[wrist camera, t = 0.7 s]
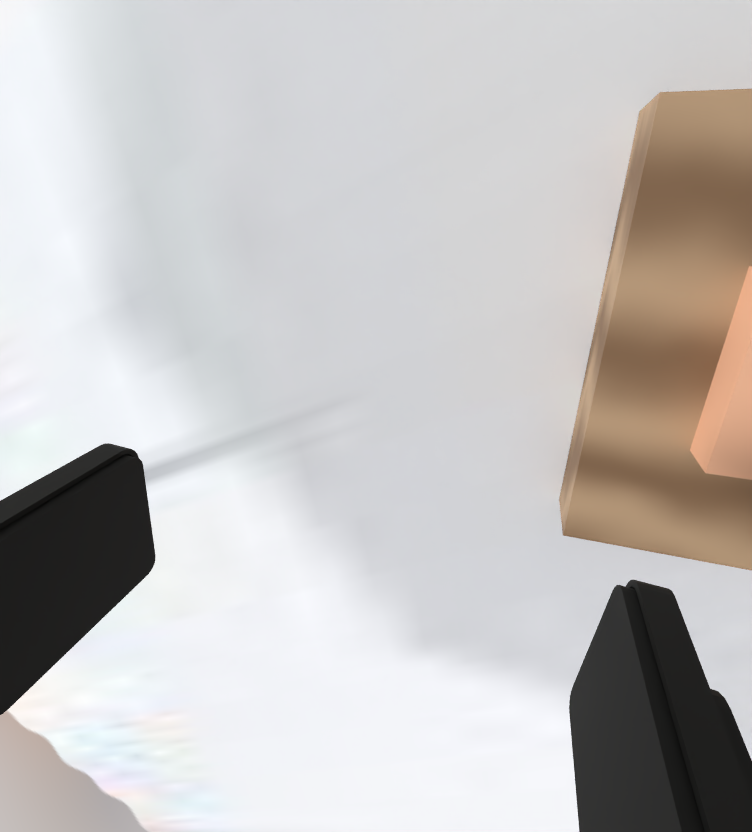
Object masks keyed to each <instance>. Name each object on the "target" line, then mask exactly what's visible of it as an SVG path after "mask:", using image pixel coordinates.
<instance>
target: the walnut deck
mask: <svg viewBox="0 0 752 832" xmlns="http://www.w3.org/2000/svg"><path fill="white" fill-rule="evenodd" d="M749 266H752V89H734V90H708V91H683V92H660V93H659V94H658V95H657V96H656V97H655V98H653V99H652V100H651V101H650V102H649V103H648V104H647V105H646V106H645V107H644V108H643V109H642V110H641V111H640V112H639V117H638V122H637V127H636V131H635V136H634V141H633V146H632V151H631V156H630V160H629V165H628V170H627V175H626V180H625V185H624V189H623V194H622V199H621V204H620V209H619V214H618V218H617V223H616V228H615V233H614V238H613V242H612V247H611V252H610V257H609V262H608V267H607V271H606V276H605V281H604V286H603V291H602V296H601V300H600V305H599V310H598V315H597V320H596V325H595V329H594V334H593V339H592V344H591V349H590V354H589V358H588V363H587V368H586V373H585V378H584V382H583V387H582V392H581V397H580V402H579V407H578V411H577V416H576V421H575V426H574V431H573V436H572V440H571V445H570V450H569V455H568V460H567V465H566V469H565V474H564V479H563V484H562V489H561V493H560V498H559V501H560V511H561V520H562V530H563V535H564V536H570V537H575V538H580V539H586V540H591V541H597V542H602V543H607V544H613V545H618V546H623V547H629V548H634V549H640V550H645V551H650V552H656V553H661V554H666V555H672V556H677V557H683V558H688V559H693V560H699V561H704V562H709V563H715V564H720V565H726V566H731V567H736V568H742V569H747V570H752V480H749V479H742V478H735V477H728V476H721V475H714V474H707V473H705V472H704V471H703V469H702V468H701V466H700V465H699V463H698V462H697V460H696V459H695V457H694V456H693V454H692V453H691V451H690V448H691V445H692V442H693V439H694V436H695V433H696V430H697V427H698V424H699V420H700V417H701V414H702V411H703V408H704V405H705V402H706V399H707V396H708V392H709V389H710V386H711V383H712V380H713V377H714V374H715V371H716V368H717V364H718V361H719V358H720V355H721V352H722V349H723V346H724V343H725V340H726V336H727V333H728V330H729V327H730V324H731V321H732V318H733V315H734V312H735V309H736V305H737V302H738V299H739V296H740V293H741V290H742V287H743V284H744V281H745V277H746V274H747V271H748V268H749Z"/></svg>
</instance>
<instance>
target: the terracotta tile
mask: <svg viewBox="0 0 752 832" xmlns="http://www.w3.org/2000/svg"><path fill="white" fill-rule="evenodd" d="M690 451H691V453H692V454H693V456H694V457H695V459H696V460H697V462H698V463H699V465H700V466H701V468H702V469H703V471H704V472H705V473H707V474H714V475H721V476H728V477H735V478H742V479H749V480H752V266H749V268H748V271H747V274H746V277H745V281H744V284H743V287H742V290H741V293H740V296H739V299H738V302H737V305H736V309H735V312H734V315H733V318H732V321H731V324H730V327H729V330H728V333H727V336H726V340H725V343H724V346H723V349H722V352H721V355H720V358H719V361H718V364H717V368H716V371H715V374H714V377H713V380H712V383H711V386H710V389H709V392H708V396H707V399H706V402H705V405H704V408H703V411H702V414H701V417H700V420H699V424H698V427H697V430H696V433H695V436H694V439H693V442H692V445H691V448H690Z"/></svg>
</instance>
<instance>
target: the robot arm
mask: <svg viewBox="0 0 752 832" xmlns="http://www.w3.org/2000/svg"><path fill="white" fill-rule="evenodd" d="M154 563H155V550H154V543H153V535H152V528H151V521H150V513H149V506H148V499H147V491H146V484H145V477H144V469H143V464H142V461H141V460H140V459H139V458H138V455H137V453H136V452H135V451H134V450H132V449H128V448H125V447H121V446H117V445H113V444H103V445H100V446H98V447H97V448H95V449H93V450H91V451H89V452H88V453H86V454H84V455H82V456H80V457H79V458H77V459H75V460H73V461H71V462H70V463H68V464H66V465H64V466H62V467H61V468H59V469H57V470H55V471H53V472H52V473H50V474H48V475H46V476H44V477H43V478H41V479H39V480H37V481H35V482H33V483H32V484H30V485H28V486H26V487H24V488H23V489H21V490H19V491H17V492H15V493H14V494H12V495H10V496H8V497H6V498H5V499H3V500H1V501H0V715H1V714H3V713H4V712H5V711H6V710H8V709H9V708H10V707H11V706H12V705H13V704H14V703H15V702H16V701H17V700H18V699H19V698H20V697H21V696H22V695H23V694H24V693H25V692H26V691H28V690H29V689H30V688H31V687H32V686H33V685H34V684H35V683H36V682H37V681H38V680H39V679H40V678H41V677H42V676H43V675H44V674H45V673H46V672H47V671H48V670H49V669H50V668H51V667H52V666H53V665H55V664H56V663H57V662H58V661H59V660H60V659H61V658H62V657H63V656H64V655H65V654H66V653H67V652H68V651H69V650H70V649H71V648H72V647H73V646H74V645H75V644H76V643H77V642H78V641H79V640H80V639H81V638H83V637H84V636H85V635H86V634H87V633H88V632H89V631H90V630H91V629H92V628H93V627H94V626H95V625H96V624H97V623H98V622H99V621H100V620H101V619H102V618H103V617H104V616H105V615H106V614H107V613H108V612H109V611H111V610H112V609H113V608H114V607H115V606H116V605H117V604H118V603H119V602H120V601H121V600H122V599H123V598H124V597H125V596H126V595H127V594H128V593H129V592H130V591H131V590H132V589H133V588H134V587H135V586H136V585H137V584H139V583H140V582H141V581H142V580H143V579H144V578H145V577H146V576H147V575H148V574H149V572H150V571H151V569H152V568H153V565H154ZM569 710H570V723H571V735H572V747H573V759H574V771H575V783H576V795H577V807H578V819H579V831H580V832H752V761H751V758H750V756H749V753H748V751H747V748H746V746H745V743H744V741H743V738H742V736H741V733H740V731H739V729H738V726H737V724H736V721H735V719H734V716H733V714H732V711H731V709H730V707H729V705H728V703H727V702H726V700H725V698H724V697H723V696H722V695H721V694H720V693H719V692H718V691H715V690H712V689H710V687H709V685H708V682H707V680H706V677H705V674H704V672H703V669H702V666H701V664H700V661H699V659H698V656H697V653H696V651H695V648H694V645H693V643H692V640H691V638H690V635H689V632H688V630H687V627H686V624H685V622H684V619H683V617H682V614H681V611H680V609H679V606H678V603H677V601H676V598H675V596H674V594H673V592H672V591H671V590H670V589H667V588H663V587H660V586H656V585H652V584H648V583H644V582H640V581H636V580H630V581H629V582H628V584H627V585H626V587H624V586H621V585H616V586H615V588H614V589H613V591H612V594H611V596H610V599H609V601H608V603H607V606H606V608H605V611H604V613H603V615H602V618H601V620H600V623H599V625H598V627H597V630H596V632H595V635H594V637H593V639H592V642H591V644H590V647H589V649H588V651H587V654H586V656H585V659H584V661H583V663H582V666H581V668H580V671H579V673H578V675H577V678H576V680H575V683H574V685H573V688H572V691H571V695H570V706H569Z"/></svg>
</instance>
